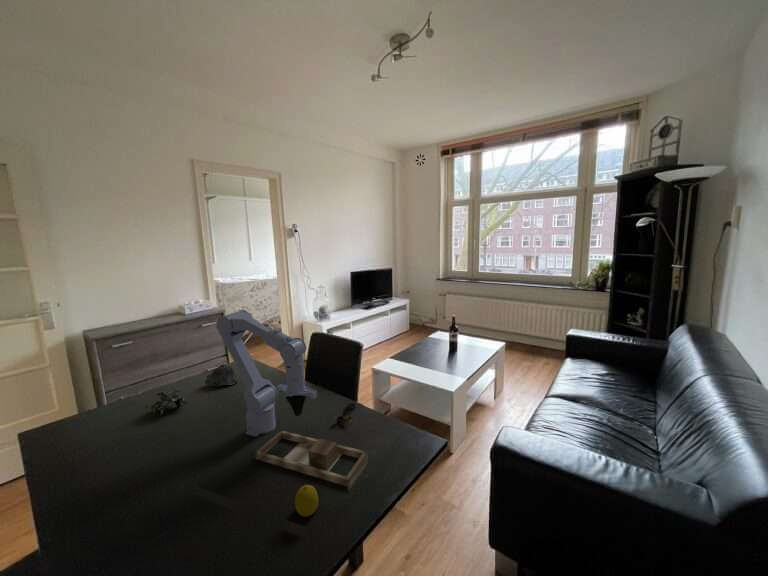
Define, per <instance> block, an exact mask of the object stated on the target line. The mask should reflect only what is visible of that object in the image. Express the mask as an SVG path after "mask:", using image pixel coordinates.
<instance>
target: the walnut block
mask: <svg viewBox="0 0 768 576" xmlns="http://www.w3.org/2000/svg"><path fill="white" fill-rule="evenodd" d="M337 444H338V443H337V441H335V442H334V441H332V440H328V439H327V440H326V439H324V438H319V439H318V441H317V442H316V443H315V444H314V445H313V446H312V447H311V448H310V449H309V450H308V454H309V466H312V467H315V468H319V469H322V470H326V471H328V469H329V468H330V467H331V466H332V464H333V463H334V462H335V460H336V459H337V458H338V454H337Z"/></svg>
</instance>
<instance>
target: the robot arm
mask: <svg viewBox="0 0 768 576" xmlns="http://www.w3.org/2000/svg"><path fill="white" fill-rule="evenodd" d="M215 327H216V329H217V331H218V333H219V335H220V337H221V340H222V341H223V342H224V344H225V347H226V348H227V350H228V352H229V354H230V357H231V358H232V360H233V362H234V364H235V366H236V368H237V371H238V372H239V374H240V376H241V377H242V380H243V381H244V384H245V385H246V389H245V391H244V393H243V397H244V400H245V405H246V408H247V410H246V413H245V422H246V429H247V431H246V432H245V434H246V435H247V436H248V435H249V436H252V437H255V438H256V437H258V436H259V435H261V434H267V433H269V432H271V431H273V430H275V428H276V426H277V424H276V423H277V421H276V414H275V413H276V412H275V411H276V410H275V405H276V401H277V399H278V398H279V393H282V392H283V393H285V394H286V397H285V398H286V401H287V402H288V403H289V405H290V407H291V409H292V412H293V415H294V416H295V417H300V416H301V415H302V414H303V408H304V404H305V401H306V399H307V397H308V398H310V399H312V400H315V399H316V398H317V397H318V394H317V393H318V392H317V391H318V390H315V389H312V388H310V387H308V386H306V380H305V379H306V377H305V366H304V364H305V363H304V353H306V350H307V346H306V343H305V341H304V340H303V339H302V338H300V337H292V336H289V335H287V334H286V333H284V332H282V331H281V330H280V329H279V328H272V329H270V328H268V327H267V326H265V325H264V324H262V323H261V322H259V321H258V320H257V319H255V318H254V317H253V315H252V313H251V312H248V311H247V310H245V309H240V310H238V311H236V312H231V313H229V314H225V315H224V314H223V315H220V316H219V317H218V318H217V322H216V326H215ZM247 331H248V332H249V333H252V334H253V335H256V336H258V337H260V338H262V339H263V341H264V344H266V345H267V346H268V347H269V348H272V349H273V350H275V351H277V352H278V353H279V356H280V358H282V360H283V364H284V367H285V368H284V369H285V378H286V384H279V385H277V386H276V387H275V386H274V385H273V383H272V381H270V380H269V379H266V378H263V377H262V376H261V375H262V374H261V373H260V372H259V369H258V367H257V366H256V363H255V361H254V360H253V358H252V356H251V354H250V353H249V351H248V348H247V347H246V344H245V342H244V341H243V337H244V335H245V333H246V332H247Z"/></svg>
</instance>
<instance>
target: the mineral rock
mask: <svg viewBox="0 0 768 576" xmlns="http://www.w3.org/2000/svg"><path fill="white" fill-rule="evenodd" d="M239 378H240V377H239V374H238V369H236V367H234V365H227V364H225V363H223V364H220V365H219V366H217V368H214V369H213V370H212V371H211V373H210V374H207V375H206V379H205V380H204V384H205V385H207V386H209V387H210V386H211V387H221V386H222V385H229V384H233V383H236V382H237V380H238V381H239ZM237 383H238V382H237ZM237 383H236V384H237Z"/></svg>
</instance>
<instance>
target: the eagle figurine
mask: <svg viewBox="0 0 768 576" xmlns="http://www.w3.org/2000/svg"><path fill="white" fill-rule="evenodd" d="M355 410H356V404H355V403H354V402H351V403H349V404H348V405H346V406H345V407H344V408H343V410H342V413H341V415H340V414H338V415H336V416H334V417H333V421H334V422H335V421H336V422H337V421H340V422H339V423H338V425H341V426H345V425H346V424H347V423H349V424H351V425H352V421H351V420H352V419H351V418H350V417H352V416H351V414H352V413H353V412H354V411H355Z"/></svg>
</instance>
